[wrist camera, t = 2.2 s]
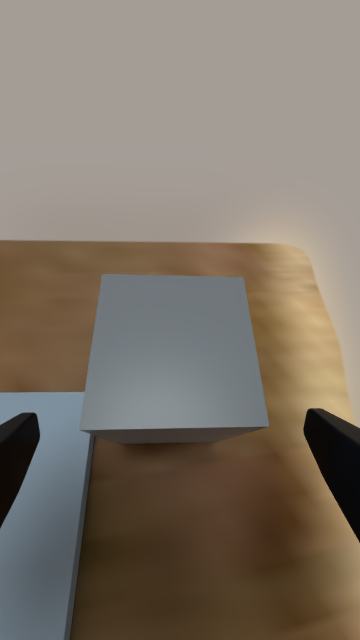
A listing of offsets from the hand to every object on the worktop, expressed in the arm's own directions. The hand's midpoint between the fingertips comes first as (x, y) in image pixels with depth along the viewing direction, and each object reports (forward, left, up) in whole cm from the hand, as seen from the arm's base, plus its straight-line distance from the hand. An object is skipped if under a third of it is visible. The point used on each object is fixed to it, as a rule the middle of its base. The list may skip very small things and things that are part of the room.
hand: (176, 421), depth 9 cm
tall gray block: (+3, 0, -10) cm, 11 cm away
